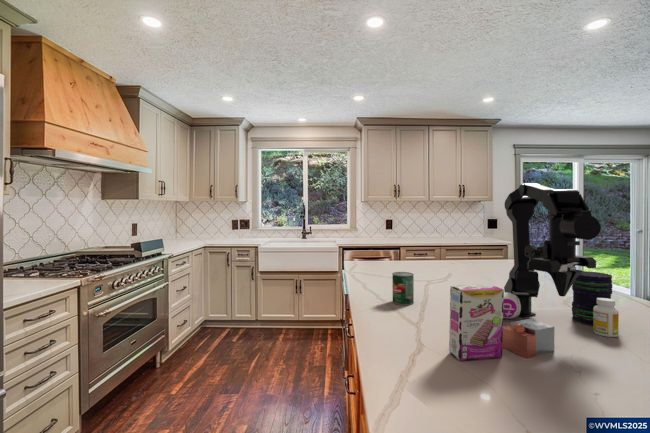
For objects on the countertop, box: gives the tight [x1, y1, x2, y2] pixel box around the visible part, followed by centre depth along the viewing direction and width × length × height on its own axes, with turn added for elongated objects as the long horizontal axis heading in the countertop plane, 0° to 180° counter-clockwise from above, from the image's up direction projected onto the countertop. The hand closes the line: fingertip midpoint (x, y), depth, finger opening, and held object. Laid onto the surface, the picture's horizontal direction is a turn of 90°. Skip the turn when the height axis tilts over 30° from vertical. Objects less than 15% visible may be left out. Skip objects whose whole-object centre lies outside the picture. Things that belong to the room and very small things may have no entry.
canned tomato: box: [391, 271, 415, 306], centre depth 126 cm, size 8×8×11 cm
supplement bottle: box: [592, 298, 620, 338], centre depth 93 cm, size 5×5×10 cm
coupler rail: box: [502, 323, 537, 359], centre depth 83 cm, size 13×7×7 cm, turn 112°
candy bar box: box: [448, 284, 505, 362], centre depth 78 cm, size 11×5×16 cm, turn 100°
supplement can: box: [503, 291, 521, 320], centre depth 107 cm, size 8×8×15 cm
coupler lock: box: [510, 318, 555, 356], centre depth 83 cm, size 7×6×6 cm
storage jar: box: [571, 270, 613, 327], centre depth 103 cm, size 10×10×15 cm
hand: (561, 296), depth 87 cm, fingers closed
